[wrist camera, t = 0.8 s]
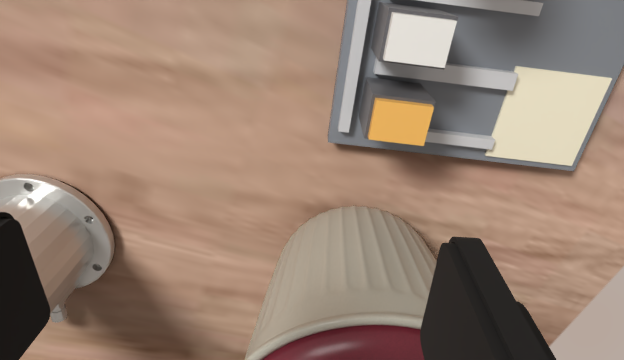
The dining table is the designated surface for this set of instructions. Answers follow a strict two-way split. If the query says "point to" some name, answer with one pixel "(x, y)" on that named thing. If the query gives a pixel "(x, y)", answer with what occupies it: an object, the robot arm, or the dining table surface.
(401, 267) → the canister
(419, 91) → the block
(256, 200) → the dining table surface
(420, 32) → the toggle plain
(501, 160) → the panel
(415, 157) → the dining table surface
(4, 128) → the dining table surface
